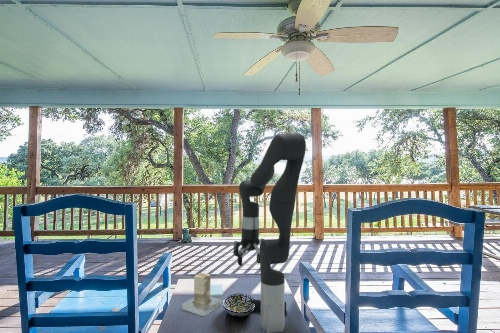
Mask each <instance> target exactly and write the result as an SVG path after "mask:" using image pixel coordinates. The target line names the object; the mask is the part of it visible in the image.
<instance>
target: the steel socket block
mask: <svg viewBox="0 0 500 333" xmlns="http://www.w3.org/2000/svg"><path fill="white" fill-rule="evenodd" d="M181 306H182V307H181V308H182V309H181V310H183V311H185V312H188V313H191V314H195V315H197V316H201V317H205V316H207V315H208V314H210V313H211V312H213V311H215V310H216V309H218V308H221V306H222V299H221V298H216V297H214V296H210V302H209V303H207V304H206V305H204V306H201V305H198V304H195V303H194V297H192V298H189V299H188V300H187V301H185V302H182V304H181Z"/></svg>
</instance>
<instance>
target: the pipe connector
mask: <svg viewBox="0 0 500 333" xmlns="http://www.w3.org/2000/svg"><path fill="white" fill-rule="evenodd" d="M251 303H254V304H255V308H254V310H253V311H252V312H251V313H252V314H253V313H254V314H261V299H251V300H250V304H251ZM250 304H249V305H250ZM286 315H287V301H284V316H286Z"/></svg>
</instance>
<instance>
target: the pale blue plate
mask: <svg viewBox="0 0 500 333" xmlns="http://www.w3.org/2000/svg"><path fill="white" fill-rule="evenodd" d="M222 296H224V290H223V284H210V297H222Z"/></svg>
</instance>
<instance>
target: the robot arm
mask: <svg viewBox="0 0 500 333" xmlns="http://www.w3.org/2000/svg"><path fill="white" fill-rule="evenodd" d="M306 148H307V141H306V138H305V137H304V135H303V134H302V133H297V132H296V133H295V132H292V133H290V132H287V133H285V132H284V133H283V132H282V133H278V134H276V135H275V136H274V137H273V138H272V140H271V141H270V143H269V146H268V148H267V149H266V152H265V153H264V156H263V158H262V160H261V162H260V163H259V165H258V167H257V168H256V169H255V170H254V172H253V173H252V174H251V176H250V179H249V180H248V179H246V180H242V181H241V182H240V183H239V186H238V191H239V195H240V199H241V206H242V218H241V240H239V241H237V240H235V241H234V243H233V256H235V257H237V265H238V266H239V267H242V266H243V256H244V255H245V254H246V252H250V251H252V252H253V251H255V252H256V263H257V264H259V265H260V266H259V268H260V271H259V272H260V300H261V313H260V328H261V329H262V330H263V331H264V332H266V333H283V332H284V329H285V315H284V302H285V279H286V278H285V274H284V273H283V272H282V271H279V270H276V269H273V268H272V265H277V264H278V265H279V264H284V263H287V262H288V259H289V256H290V245H291V232H292V231H291V230H292V224H293V223H292V222H293V218H294V217H293V216H294V211H295V206H296V205H295V204H296V200H297V198H296V197H297V191H298V185H299V179H300V174H301V171H302V167H303V162H304V159H305V155H306ZM280 161H286V164H285V166H284V170H283V172H282V174H281V176H279V178H278V180H277V181H276V183H275V184H274V186H273V187H272V190H271V191H270V198H269V206H268V209H269V213H270V215H271V217H272V219H273V220H274V223H275V224H276V226H277V228H278V238H275V239H273V238H270V239H264V238H259V237H260V205H259V203H258V202H254V201H252V200H251V199H250V198H252V197H253V198H255V197H257V198H258V197H261V196H263V194H264V192H265V188H266V186H267V184H269V182H270V181H271V180H272V179H273V177H274V175H275V170H276V169H275V165H277V163H279V162H280ZM259 244H260V245H259ZM240 246H241V247H240ZM258 246H259V247H258Z"/></svg>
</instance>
